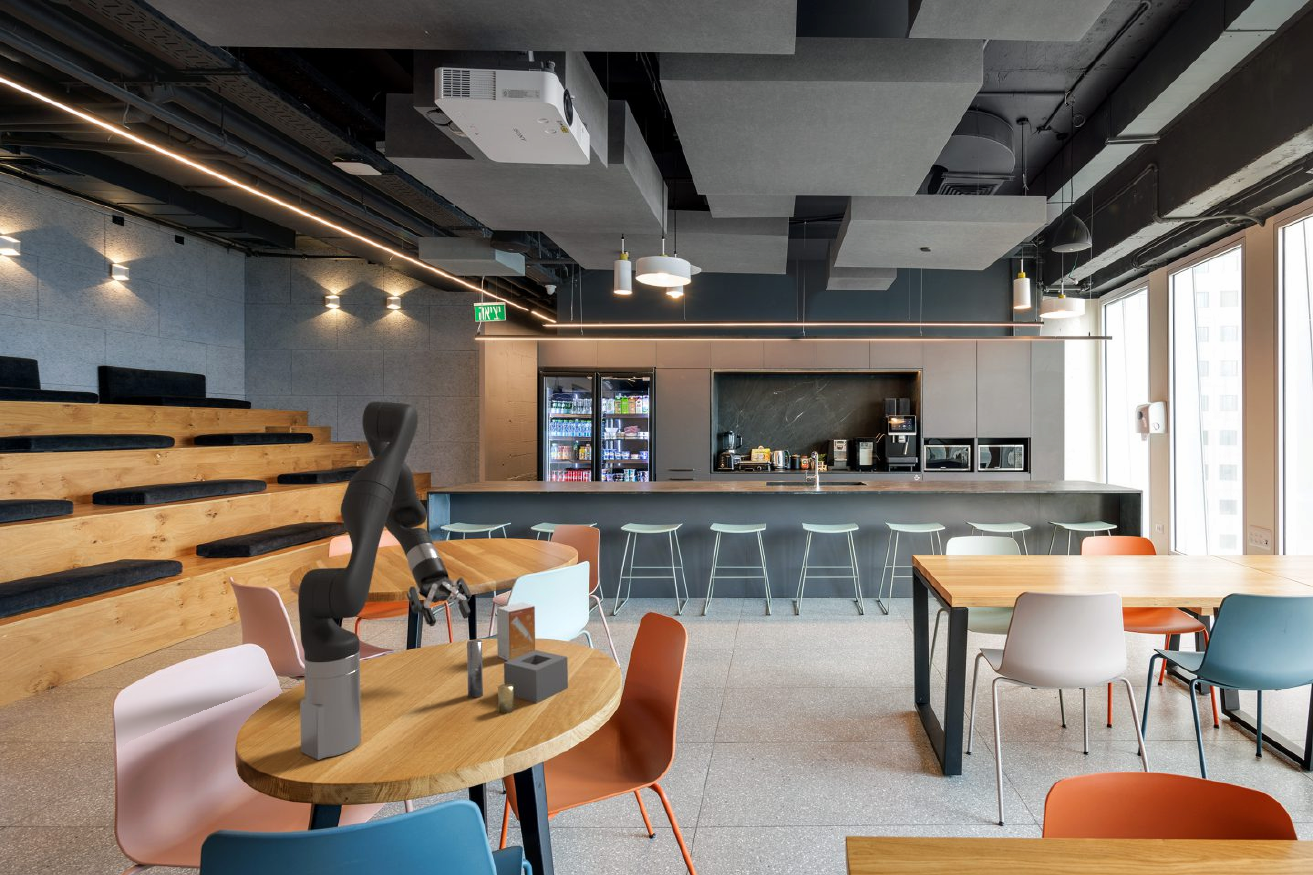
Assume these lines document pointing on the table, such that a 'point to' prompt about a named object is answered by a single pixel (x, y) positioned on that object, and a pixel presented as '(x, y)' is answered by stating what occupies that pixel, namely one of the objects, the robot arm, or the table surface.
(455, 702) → the table surface
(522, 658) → the collar block
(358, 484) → the robot arm
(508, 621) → the small box
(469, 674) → the grey metal rod
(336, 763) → the table surface
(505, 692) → the brass pin
